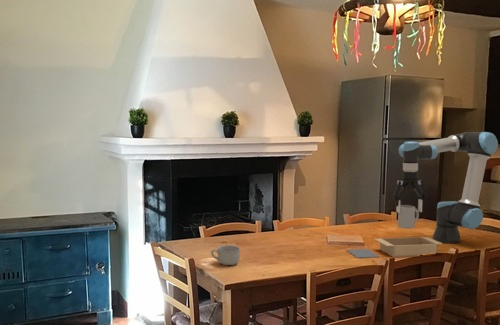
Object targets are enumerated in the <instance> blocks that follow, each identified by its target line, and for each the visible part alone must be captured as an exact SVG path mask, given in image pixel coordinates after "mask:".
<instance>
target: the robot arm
mask: <svg viewBox="0 0 500 325" xmlns="http://www.w3.org/2000/svg"><path fill="white" fill-rule="evenodd" d="M498 141H499V140H498V139H497V137H496V135H495V134H494V133H492V132H488V131H466V132H461V133H457V134H451V135H449V136H448V137H444V138H439V139H432V140H426V141H420V142H419V141H405V142H403V143H402V144H400V146H399V147H398V154H399V156H400V157H402V180H397V181H396V185H395V187H394V191H393V192H392V195H391V199H393V200H395V201H394V203H395V204H394V206H395V207H396V213H397V214H398V213H400V205H401V198H402V196H403V194H404V193H405V191H407V190H409V189H412V190H414V192H415V194H416V195H417V197H419V198H418V201H417V209H418V211H419V213H422V212H423V206H424V205H425V204H424V202H425V200H426V199H428V195H427V192H426V189H425V186H424V180H421V179H419V180H418V178H419V176H418V175H419V172H418V171H419V160H434V159H436V158H437V157H438V154H439V153H444V152H449V151H450V152H453V153H455V152H465V153H467V155H468V156H469V161H468V166H467V170H466V174H465V175H466V176H465V181H464V185H463V190H462V195H461V199H460V200H458V201H456V200H454V201H452V200H451V201H449V200H448V201H439V202H438V203H437V207H436V226H435V229H434V232H433V234H432V239H433V240H436V241H438V242H440V243H443V244H444V243H445V244H458V243H461V240H462V238H461V234H460V232H459V227H461V228H465V229H471V230H473V229H476V228H478V227H479V226H480V225H481V223H482V222H483V219H484V213H483V211H482V210H481V205H480V203H479V198H480V194H481V189H482V185H483V184H482V183H483V181H484V180H483V179H484V175H485V170H486V166H487V161H488V160H490V159H491V156H492V155H493V154H494V153H495V152H497V150H498V147H499V142H498ZM417 185H418V186H417Z"/></svg>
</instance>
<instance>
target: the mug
mask: <svg viewBox="0 0 500 325" xmlns="http://www.w3.org/2000/svg"><path fill="white" fill-rule="evenodd" d="M397 216H398V217H397V227H398V228H400V229H405V230H406V229H414V228H415V227H416V222H417V221H418V220H419V217H420V212H419V211H418V208H416V206H414V205H410V204H400V213H398V212H397Z"/></svg>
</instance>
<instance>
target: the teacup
mask: <svg viewBox="0 0 500 325" xmlns="http://www.w3.org/2000/svg"><path fill="white" fill-rule="evenodd" d="M240 251H241V247H239V246H237V245H233V244H225V245H224V244H223V245H219V246H218V248H213V249H212V250H211V252H210V255H211V257H212V258H213V259H216V261H218V262H219V263H220V264H221V265H223V266H226V265H232V266H234V265H236V264H237V263H238V262H240V258H241V257H240V256H241V252H240ZM214 252H216V253H217V256H216V255H214Z"/></svg>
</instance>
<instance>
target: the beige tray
mask: <svg viewBox="0 0 500 325" xmlns="http://www.w3.org/2000/svg"><path fill="white" fill-rule="evenodd" d="M374 240H375V241H377V242H379V250H381V251H382V252H384V253H385V254H387V255H389V256H391V257H392V258H402V257H403V258H406V257H407V258H408V257H409V258H410V256H411V257H418V256H417V255H423V254H430V253H437V254H438V245H443V244H444V243H443V242H438V241H436V240H433V238H431V237H428V236H412V237H411V236H410V237H408V236H407V237H406V236H405V237H383V238H374Z"/></svg>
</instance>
